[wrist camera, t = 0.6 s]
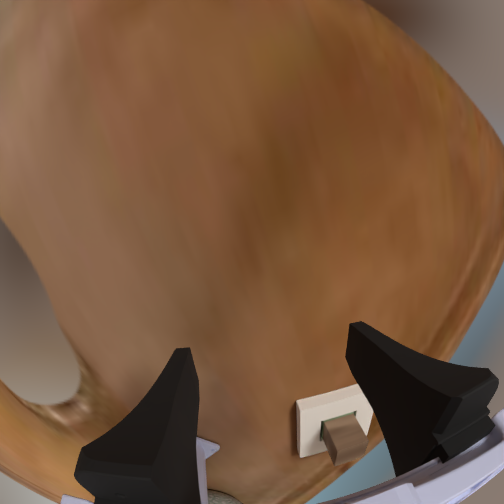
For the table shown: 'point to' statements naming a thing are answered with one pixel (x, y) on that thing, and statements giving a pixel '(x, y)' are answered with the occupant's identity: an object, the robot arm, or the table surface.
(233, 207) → the table surface
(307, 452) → the sleeve block
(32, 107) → the table surface
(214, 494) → the planter
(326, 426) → the post
